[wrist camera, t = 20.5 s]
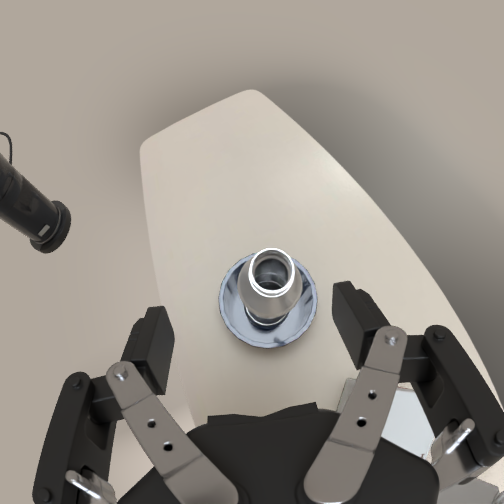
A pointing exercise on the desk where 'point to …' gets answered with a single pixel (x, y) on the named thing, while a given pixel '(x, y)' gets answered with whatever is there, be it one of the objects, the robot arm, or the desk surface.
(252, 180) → the desk surface
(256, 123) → the desk surface
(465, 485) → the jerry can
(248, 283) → the silver bottle
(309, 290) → the bowl
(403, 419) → the white product box
